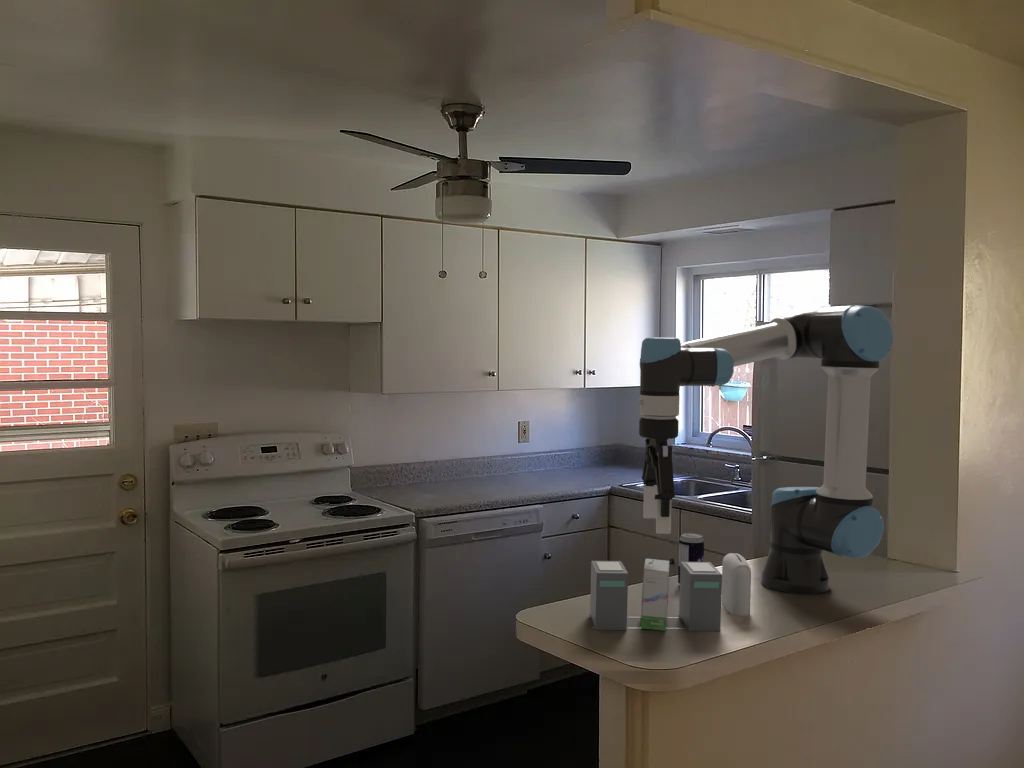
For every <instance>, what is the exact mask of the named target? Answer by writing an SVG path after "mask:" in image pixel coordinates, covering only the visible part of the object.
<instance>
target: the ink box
mask: <svg viewBox="0 0 1024 768" xmlns="http://www.w3.org/2000/svg"><path fill="white" fill-rule="evenodd" d="M642 580H643V581H642V590H641V591H642V592H641V594H642V595H641V607H640V608H641V610H640V611H641V616H640V617H641V618H640V627H641V629H640V630H651V631H652V630H653V631H665V632H666V631H667V629H666V628H667V620H668V618H667V617H668V605H669V604H668V602H669V590H670V589H669V587H670V584H669V583H670V560H664V559H654V558H645V560H644V566H643V577H642Z"/></svg>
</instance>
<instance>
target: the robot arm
mask: <svg viewBox="0 0 1024 768" xmlns="http://www.w3.org/2000/svg"><path fill="white" fill-rule="evenodd" d="M893 341H894V333H893V328H892V325H891V323H890V321H889V319H888V317H886V316H885V314H884V313H883V312H882V311H881V310H880V309H878V308H877V307H875V306H870V305H859V304H856V305H855V304H854V305H840V306H839V305H838V306H819V307H812V308H808V309H805V310H801V311H798V312H795V313H791V314H787V315H784V316H780V317H776V318H774V319H772V320H769V323H768V324H764V325H759V326H755V327H750V328H745V329H741V330H736V331H732V332H727V333H724V334H718V335H713V336H709V337H703V338H700V339H695V340H694V339H693V340H691V341H690V340H689V341H686V342H682V343H681V340H680V338H677V337H646V338H644V339H643V340H642V342H641V348H640V358H639V370H640V371H639V372H640V373H639V374H640V375H639V377H640V378H639V379H640V381H639V385H640V386H639V389H640V390H639V396H640V398H639V399H637V400H636V403H637V405H639V414H640V415H641V416H642V417H640V418H639V421H638V423H639V424H638V435H639V436H640V437H641V438H645V440H644V441H645V449H644V457H643V458H644V459H643V466H642V472H641V473H642V475H641V479H642V483H643V508H642V509H643V511H642V518H643V519H655V534H657V535H658V534H659V535H660V534H661V535H671V533H672V511H673V510H672V509H673V508H672V503H673V499H674V498H675V497H676V493H675V481H674V469H673V447H672V445H668V440H669V439H670V440H671V439H673V440H674V439H677V438H678V437H679V423H680V422H679V421H680V420H678V418H677V417H678V416H680V387H712V388H713V387H716V386H724V385H727V383H729V382H730V381H731V380H732V378H733V375H734V370H735V369H734V368H735V367H738V366H739V367H740V366H742V365H743V366H744V365H747V364H748V365H749V364H752V363H755V362H756V363H757V362H759V361H765V360H768V359H773V358H777V359H780V360H782V361H783V360H788V359H794V358H806V359H807V358H810V359H821V364H820V367H821V369H822V371H824V372H825V373H826V374H827V376H828V377H827V397H826V421H825V441H824V442H825V444H824V462H823V463H824V464H823V465H824V466H823V484H822V485H821V486H820V487H819V486H788V487H778V488H776V489H775V490H774V491H773V492H772V494H771V503H770V534H769V535H770V536H769V537H770V542H769V543H770V547H769V553H768V555H767V557H766V559H765V563H764V565H763V568H762V570H761V577H760V578H761V579H760V580H761V581H760V582H761V584H762V585H763V586H765V587H766V588H769V589H771V590H775V591H778V592H779V591H780V592H784V593H787V594H788V593H790V594H799V595H815V594H823V593H826V592H828V591H829V590H830V581H831V580H830V576H829V573H828V569H827V566H826V565H827V564H826V562H825V559H824V555H823V554H824V553H823V551H825V552H829V553H831V554H834V555H836V556H838V557H841V558H849V559H852V560H853V559H856V560H857V559H862V558H865V557H867V556H869V555H870V554H872V552H874V549H876V548H877V547H878V546H879V544H880V543H881V540H882V538H883V533H884V529H885V525H884V524H885V523H884V518H883V516H881V512H880V511H879V510H878V509H876V508H875V507H873V503H874V502H873V500H874V498H873V497H874V496H873V494H872V493H871V492H870V491H869V490H868V489H867V487H866V484H867V483H866V482H867V467H868V466H867V463H868V462H867V461H868V442H869V441H868V440H869V420H870V403H871V402H870V400H871V399H870V398H871V382H872V381H871V380H872V379H871V378H872V376H873V375H874V374H875V373H876V372H878V371H879V370H880V361H882V360H883V359H885V358H886V357H887V356H888V354H889V352H890V351H891V350H892V346H893Z"/></svg>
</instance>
